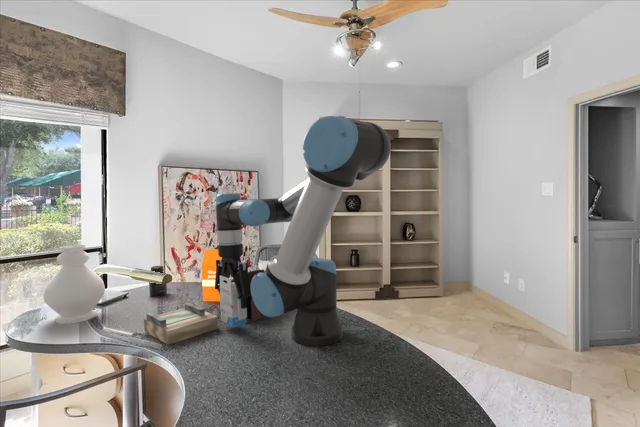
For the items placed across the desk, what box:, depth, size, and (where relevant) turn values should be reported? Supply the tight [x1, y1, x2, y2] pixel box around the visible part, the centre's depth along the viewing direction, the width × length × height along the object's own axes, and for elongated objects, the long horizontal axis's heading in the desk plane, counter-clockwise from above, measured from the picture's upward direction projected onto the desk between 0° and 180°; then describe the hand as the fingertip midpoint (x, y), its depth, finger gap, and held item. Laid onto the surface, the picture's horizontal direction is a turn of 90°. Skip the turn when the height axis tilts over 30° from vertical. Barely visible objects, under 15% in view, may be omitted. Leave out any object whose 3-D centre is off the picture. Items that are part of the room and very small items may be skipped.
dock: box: [143, 302, 219, 346], centre depth 116 cm, size 16×16×6 cm
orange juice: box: [201, 248, 231, 302], centre depth 149 cm, size 8×9×20 cm
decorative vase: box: [43, 244, 106, 325], centre depth 129 cm, size 18×18×25 cm
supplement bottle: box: [148, 265, 168, 298], centre depth 156 cm, size 7×7×12 cm
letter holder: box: [231, 269, 266, 323], centre depth 132 cm, size 10×20×14 cm, turn 152°
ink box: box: [220, 275, 248, 328], centre depth 116 cm, size 8×5×15 cm, turn 39°
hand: (233, 315), depth 116 cm, fingers closed on ink box, 9 cm apart
